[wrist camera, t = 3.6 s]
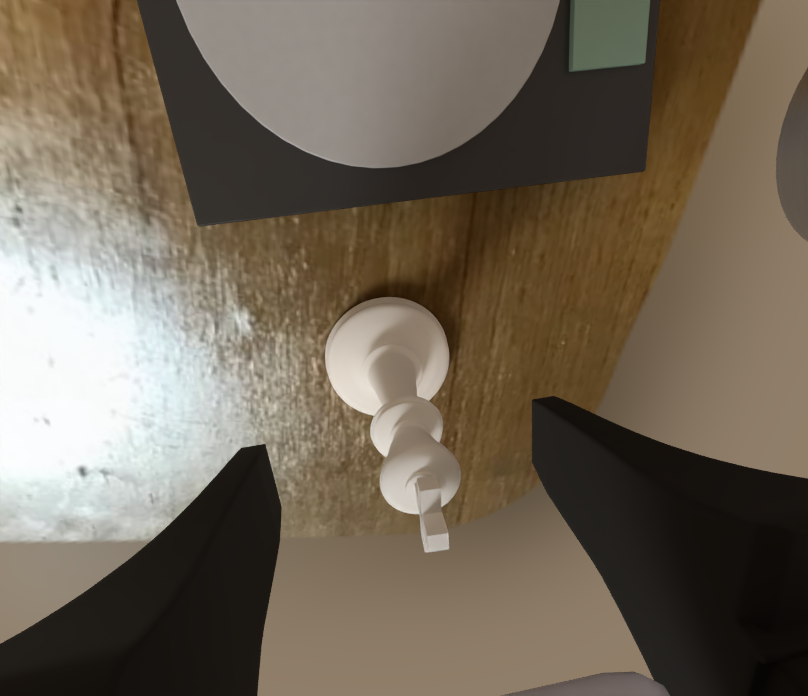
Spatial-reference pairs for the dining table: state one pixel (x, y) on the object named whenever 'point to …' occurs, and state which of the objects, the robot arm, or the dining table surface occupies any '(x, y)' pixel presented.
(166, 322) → the dining table surface
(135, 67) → the dining table surface
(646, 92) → the scale
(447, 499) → the chess piece
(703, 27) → the dining table surface
